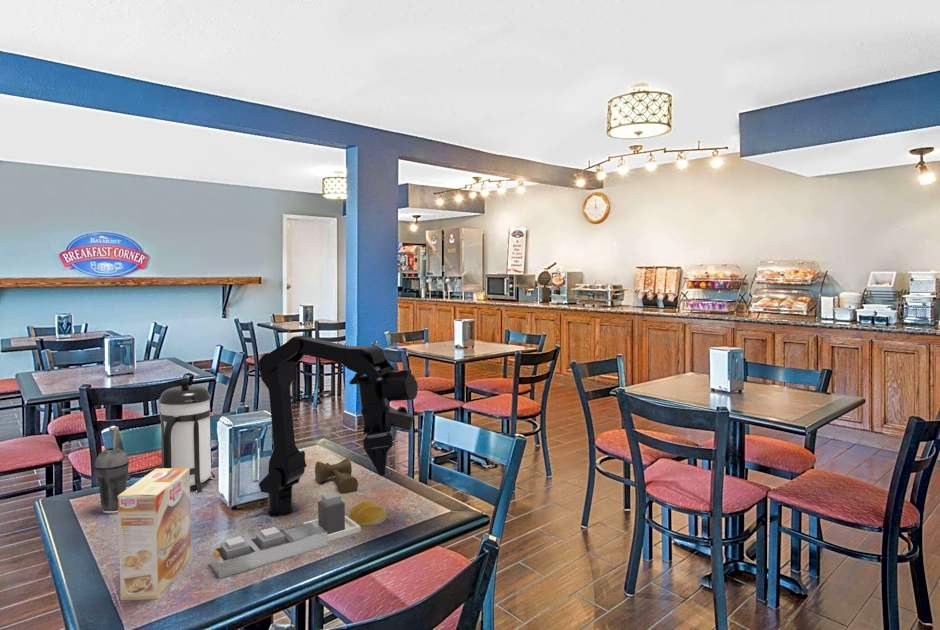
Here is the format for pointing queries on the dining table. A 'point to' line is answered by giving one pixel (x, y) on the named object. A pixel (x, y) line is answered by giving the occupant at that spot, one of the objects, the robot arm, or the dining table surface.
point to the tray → (349, 529)
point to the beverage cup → (111, 475)
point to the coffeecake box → (154, 533)
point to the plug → (331, 513)
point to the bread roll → (368, 514)
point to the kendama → (337, 475)
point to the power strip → (271, 550)
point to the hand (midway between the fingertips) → (381, 470)
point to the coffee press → (186, 431)
